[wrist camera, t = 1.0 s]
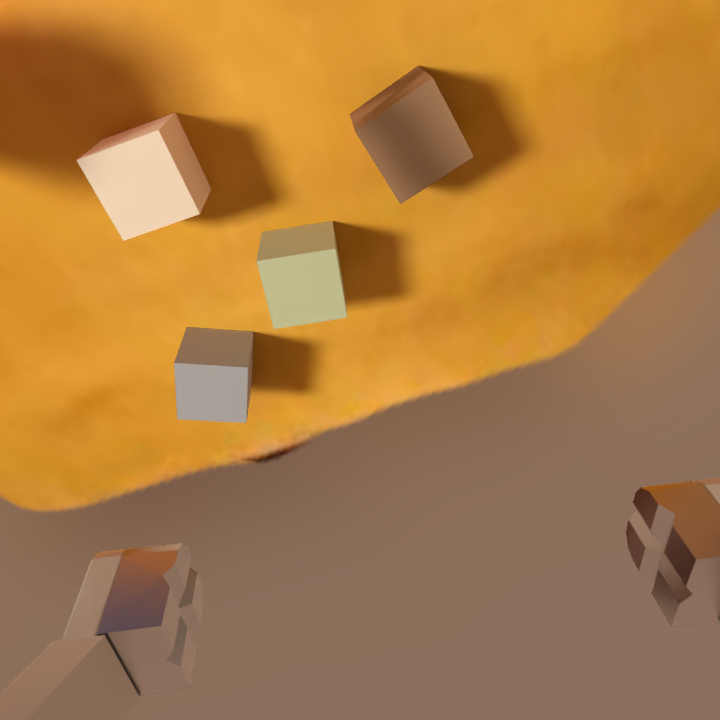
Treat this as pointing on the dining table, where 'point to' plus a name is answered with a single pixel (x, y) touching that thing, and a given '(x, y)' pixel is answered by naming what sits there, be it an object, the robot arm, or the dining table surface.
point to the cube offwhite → (147, 176)
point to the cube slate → (214, 375)
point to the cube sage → (302, 275)
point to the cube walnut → (411, 134)
